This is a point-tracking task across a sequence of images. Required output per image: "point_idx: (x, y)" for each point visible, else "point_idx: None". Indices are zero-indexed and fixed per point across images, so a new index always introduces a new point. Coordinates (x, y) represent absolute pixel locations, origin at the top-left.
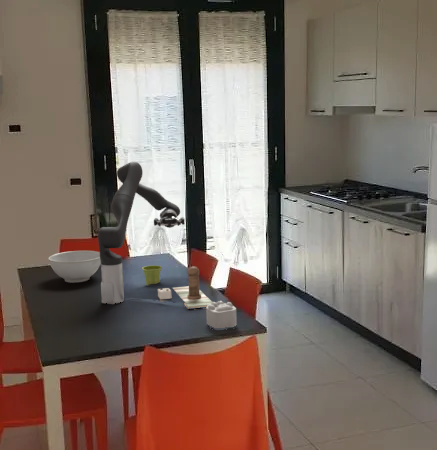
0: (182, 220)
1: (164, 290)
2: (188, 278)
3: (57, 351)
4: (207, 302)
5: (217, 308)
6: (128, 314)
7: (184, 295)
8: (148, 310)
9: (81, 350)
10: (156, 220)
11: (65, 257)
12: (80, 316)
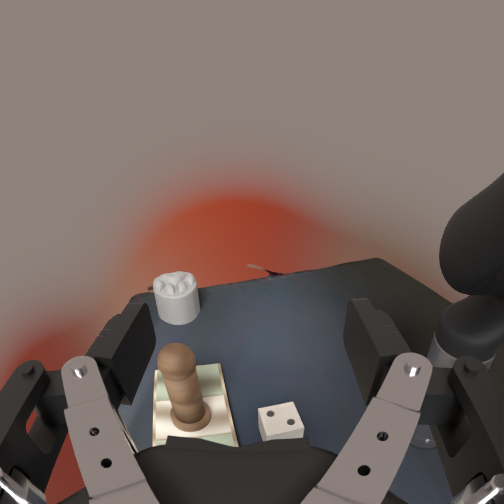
0: (51, 371)
1: (279, 412)
2: (197, 377)
3: (381, 267)
4: None
5: (183, 272)
6: None
7: (216, 440)
8: (312, 373)
9: (357, 268)
10: (459, 394)
11: None
12: None
